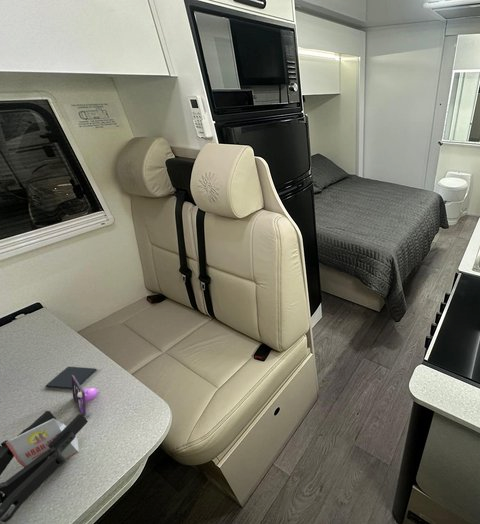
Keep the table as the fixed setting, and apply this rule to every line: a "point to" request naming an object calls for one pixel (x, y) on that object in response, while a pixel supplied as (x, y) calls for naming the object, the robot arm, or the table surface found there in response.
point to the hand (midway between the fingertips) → (67, 416)
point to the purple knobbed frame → (82, 394)
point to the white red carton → (39, 442)
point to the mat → (66, 377)
